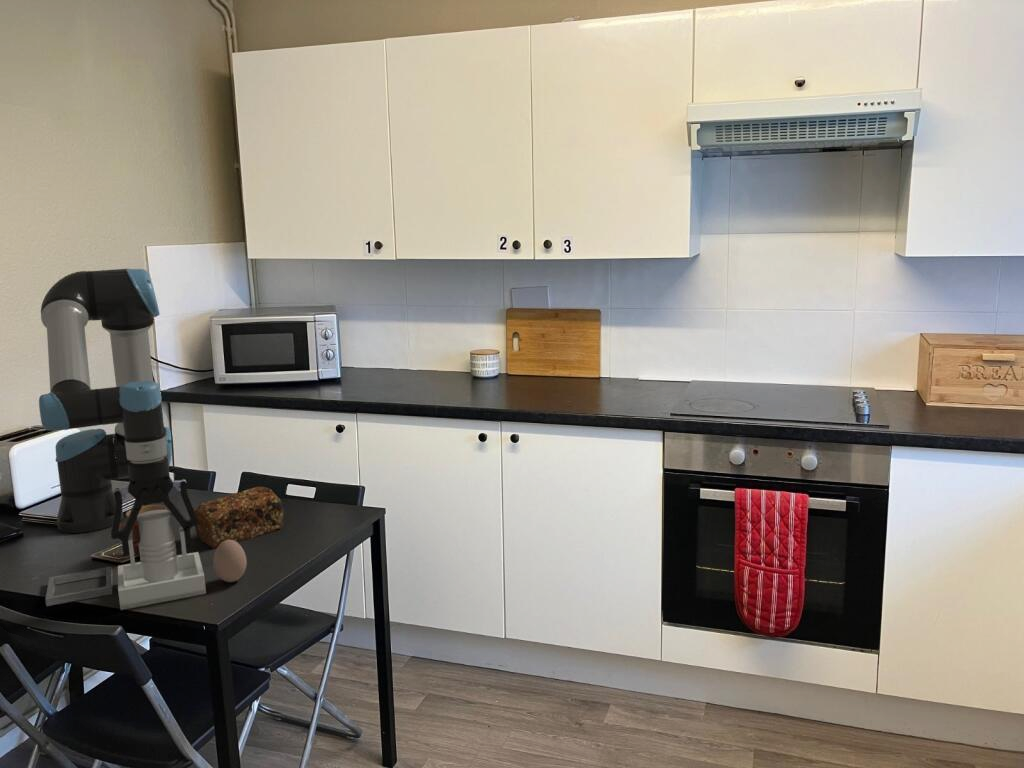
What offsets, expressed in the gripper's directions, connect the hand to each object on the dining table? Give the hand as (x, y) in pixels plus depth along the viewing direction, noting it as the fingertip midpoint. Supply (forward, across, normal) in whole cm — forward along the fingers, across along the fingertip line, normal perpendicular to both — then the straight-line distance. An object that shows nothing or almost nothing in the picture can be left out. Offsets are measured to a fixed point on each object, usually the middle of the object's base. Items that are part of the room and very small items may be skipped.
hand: (159, 563), depth 178 cm
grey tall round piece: (+5, 0, 0) cm, 5 cm away
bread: (+6, +19, +25) cm, 32 cm away
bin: (+6, 0, 0) cm, 6 cm away
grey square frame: (+6, -16, +8) cm, 18 cm away
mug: (+6, -2, +21) cm, 22 cm away
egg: (+6, +14, -3) cm, 15 cm away
